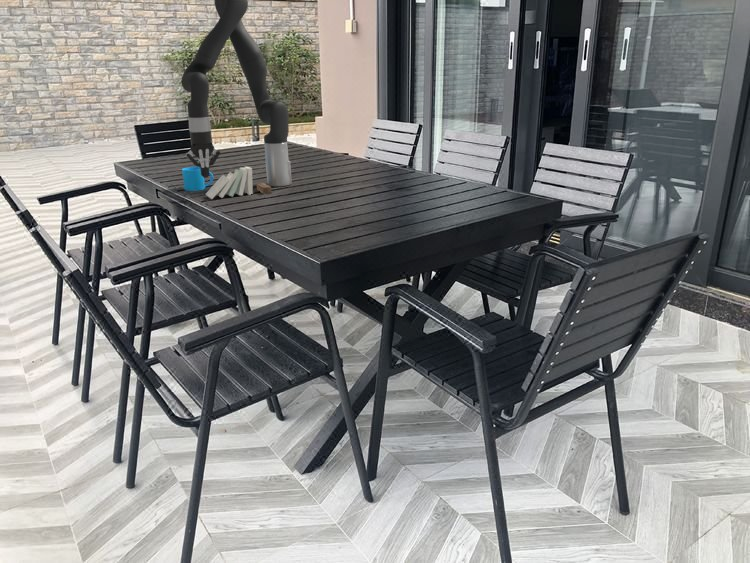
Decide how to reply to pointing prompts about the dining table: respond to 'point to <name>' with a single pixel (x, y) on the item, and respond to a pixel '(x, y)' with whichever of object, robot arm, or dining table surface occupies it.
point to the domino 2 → (227, 184)
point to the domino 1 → (217, 186)
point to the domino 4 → (241, 182)
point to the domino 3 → (234, 183)
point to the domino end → (248, 181)
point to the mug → (194, 179)
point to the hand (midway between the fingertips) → (205, 177)
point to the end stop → (264, 188)
